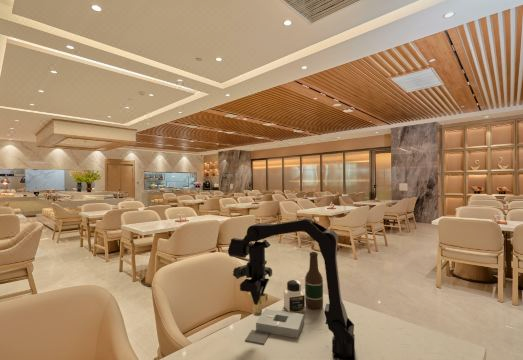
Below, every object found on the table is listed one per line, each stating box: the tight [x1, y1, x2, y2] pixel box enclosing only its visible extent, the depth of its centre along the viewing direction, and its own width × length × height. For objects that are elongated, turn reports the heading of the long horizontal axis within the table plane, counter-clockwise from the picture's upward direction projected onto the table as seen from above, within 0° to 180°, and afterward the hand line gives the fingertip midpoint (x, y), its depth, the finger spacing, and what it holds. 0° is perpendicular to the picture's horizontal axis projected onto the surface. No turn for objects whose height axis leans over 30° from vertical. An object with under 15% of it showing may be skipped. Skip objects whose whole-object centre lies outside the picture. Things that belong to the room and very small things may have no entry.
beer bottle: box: [304, 251, 324, 311], centre depth 124 cm, size 8×8×24 cm
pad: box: [244, 329, 271, 345], centre depth 100 cm, size 7×7×1 cm
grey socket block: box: [255, 308, 305, 339], centre depth 108 cm, size 16×12×3 cm
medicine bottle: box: [283, 279, 306, 313], centre depth 122 cm, size 7×7×12 cm
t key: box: [246, 292, 268, 317], centre depth 100 cm, size 3×7×7 cm, turn 71°
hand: (257, 302), depth 100 cm, fingers closed on t key, 3 cm apart
